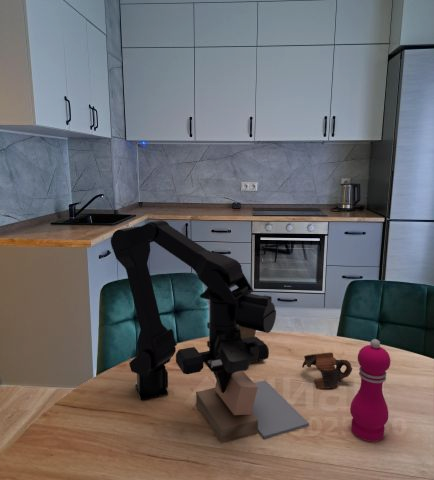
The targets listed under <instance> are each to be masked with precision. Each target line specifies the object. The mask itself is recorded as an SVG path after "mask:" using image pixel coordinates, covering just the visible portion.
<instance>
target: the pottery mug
mask: <svg viewBox="0 0 434 480" xmlns="http://www.w3.org/2000/svg"><path fill="white" fill-rule="evenodd" d="M303 357H304V358H303V359H304V361H303V362H302V364H301V366H302V368H303V369H304V368H305V366H306V367H307V368H311V367H312V366H315V367H316V369H317V370H319V372H320V374H321V377H320V378H315V379H314V383H315V388H316V389H320V390H321V389H335V388H338V387H339V382H342V380H344V379H346V378H348V377H349V376H350V375H351V373H352V372H353V367H352V364H351V362H350V361H348V360H346V359H336V358H335V357H334V353H333V352H323V353H315V354H306V355H303ZM343 366H345V370H344V371H343V372H342V367H343Z"/></svg>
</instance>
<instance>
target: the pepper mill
mask: <svg viewBox="0 0 434 480" xmlns="http://www.w3.org/2000/svg"><path fill="white" fill-rule="evenodd" d="M357 362H358V364H359V368H358V369H359V372H358V375H359V377H360V387H359V389H358V391H357V393H356V394H355V395H354V397H353V399H352V400H351V403H350V407H349V410H350V411H349V412H350V414H351V417H352V419H351V423H350V424H351V425H350V429H351V431H352V433H353V434H354V435H355V436H356V437H357V438H359V439H361V440H363V441H368V442H378V441H381V440H382V439H384V436H385V425H386V424H387V423H388V420H389V409H388V408H389V407H388V405H387V401H386V399H385V397H384V394H383V384H384V382H386V380H387V371H388V370H389V368H390V367H391V356H390V354H389V352H388V350H386V349H385V348H383V347H382V346H381V341H380V340H378V339H376V338H373V339H372V340H370V343H369V344H367V345H364V346H363V347H362V348H360V349H359V352H358V354H357Z"/></svg>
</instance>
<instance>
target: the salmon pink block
mask: <svg viewBox="0 0 434 480" xmlns="http://www.w3.org/2000/svg"><path fill="white" fill-rule="evenodd" d="M255 383H256V382H254V381H253V380H252V379H251V378H250V377H249V376H248V375H247V374H246V373H245V371H238V372H235V373H233V374H232V376H231V378H230V380H229V383H228V385H227V388H226V390H225V392H224V393H222V392H221V391H220V388H219V385H218V383H217V380H216V382H215V385H214V388H215V391H216V392H217V393H218V395H219V396H220V397H221V398H222V400H223V401H224V402H225V404H226V405H227V406H228V408H229V409H230V410H231V412H232V413H233V414H234V415H251V413H252V409H253V405H254V401H255V398H256V394H257V390H258V387H257V386H256V385H255Z"/></svg>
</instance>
